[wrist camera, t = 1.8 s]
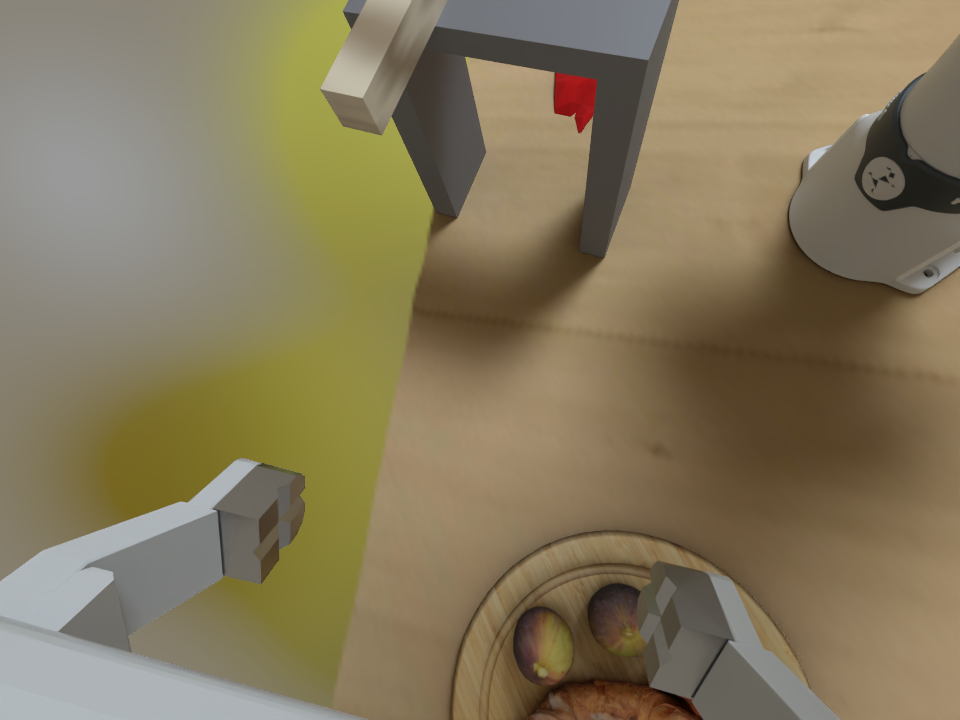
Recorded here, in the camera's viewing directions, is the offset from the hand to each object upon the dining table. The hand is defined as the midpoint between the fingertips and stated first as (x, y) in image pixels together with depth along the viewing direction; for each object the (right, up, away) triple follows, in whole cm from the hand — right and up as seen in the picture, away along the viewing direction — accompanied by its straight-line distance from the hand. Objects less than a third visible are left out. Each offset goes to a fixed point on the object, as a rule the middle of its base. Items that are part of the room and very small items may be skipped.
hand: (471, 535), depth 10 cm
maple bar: (-3, +30, +21) cm, 37 cm away
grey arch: (+6, +24, +45) cm, 51 cm away
